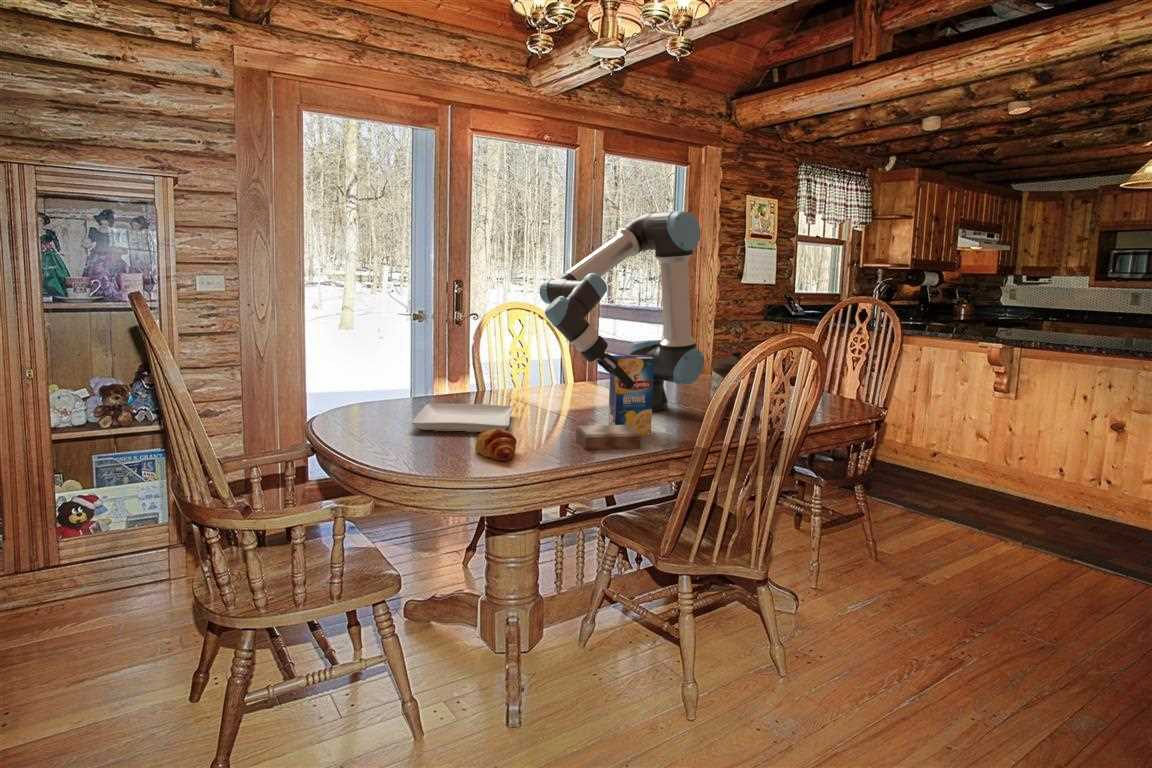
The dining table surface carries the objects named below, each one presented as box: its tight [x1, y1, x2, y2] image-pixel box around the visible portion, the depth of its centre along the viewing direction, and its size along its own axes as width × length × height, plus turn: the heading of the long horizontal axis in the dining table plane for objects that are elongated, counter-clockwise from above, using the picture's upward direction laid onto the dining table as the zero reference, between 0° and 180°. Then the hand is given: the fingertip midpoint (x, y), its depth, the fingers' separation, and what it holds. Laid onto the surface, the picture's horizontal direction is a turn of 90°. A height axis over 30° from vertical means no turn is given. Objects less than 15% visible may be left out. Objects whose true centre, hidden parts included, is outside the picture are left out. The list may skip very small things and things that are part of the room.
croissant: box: [475, 429, 517, 462], centre depth 180 cm, size 21×10×8 cm, turn 23°
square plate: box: [411, 403, 514, 433], centre depth 212 cm, size 27×27×4 cm
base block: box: [575, 424, 642, 451], centre depth 193 cm, size 15×11×4 cm
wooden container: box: [709, 348, 757, 418], centre depth 233 cm, size 15×15×22 cm
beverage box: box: [607, 354, 655, 435], centre depth 206 cm, size 7×11×22 cm, turn 105°
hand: (643, 400), depth 207 cm, fingers open, 3 cm apart
